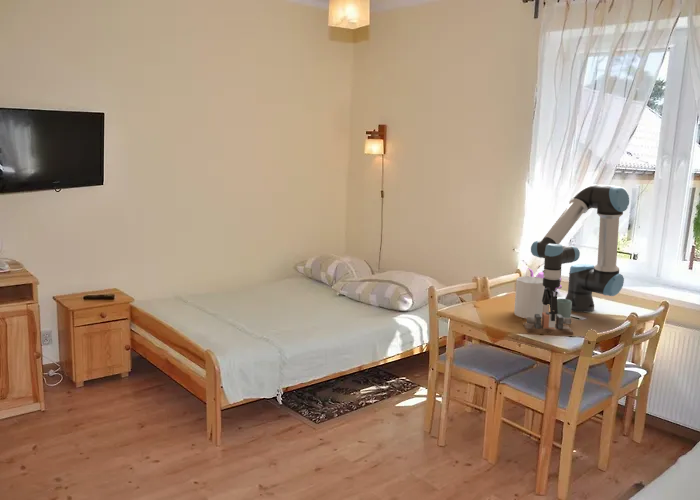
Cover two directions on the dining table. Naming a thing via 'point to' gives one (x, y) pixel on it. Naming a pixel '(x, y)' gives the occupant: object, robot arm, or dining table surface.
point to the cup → (564, 307)
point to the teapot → (540, 275)
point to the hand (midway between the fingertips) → (548, 322)
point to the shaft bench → (560, 328)
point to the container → (529, 296)
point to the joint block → (545, 320)
